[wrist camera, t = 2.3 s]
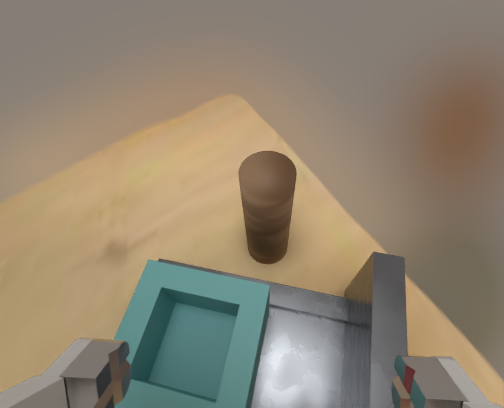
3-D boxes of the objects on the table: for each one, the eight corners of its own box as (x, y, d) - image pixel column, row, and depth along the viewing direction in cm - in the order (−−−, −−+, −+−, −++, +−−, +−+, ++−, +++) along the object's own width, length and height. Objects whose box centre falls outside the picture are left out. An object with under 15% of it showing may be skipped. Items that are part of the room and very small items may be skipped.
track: (87, 446, 23) (-2, 470, 15) (165, 253, 31) (133, 207, 24) (359, 535, 20) (416, 621, 12) (367, 295, 28) (404, 257, 21)
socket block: (131, 401, 24) (86, 403, 18) (173, 288, 28) (148, 259, 22) (245, 434, 22) (236, 448, 16) (269, 309, 27) (270, 285, 21)
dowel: (243, 259, 31) (232, 191, 20) (252, 225, 33) (246, 147, 22) (283, 267, 30) (291, 201, 20) (290, 231, 32) (300, 155, 22)
